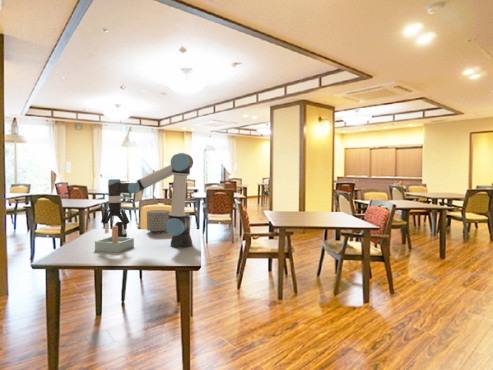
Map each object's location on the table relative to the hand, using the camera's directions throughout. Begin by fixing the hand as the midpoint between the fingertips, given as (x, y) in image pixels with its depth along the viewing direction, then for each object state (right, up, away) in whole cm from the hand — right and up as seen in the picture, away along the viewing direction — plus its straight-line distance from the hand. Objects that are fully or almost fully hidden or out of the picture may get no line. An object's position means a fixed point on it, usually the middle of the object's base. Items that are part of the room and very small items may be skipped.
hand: (115, 233), depth 204 cm
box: (-1, -10, 0) cm, 10 cm away
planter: (+13, -8, +55) cm, 57 cm away
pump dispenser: (-5, -9, +19) cm, 22 cm away
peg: (-1, -9, 0) cm, 9 cm away
